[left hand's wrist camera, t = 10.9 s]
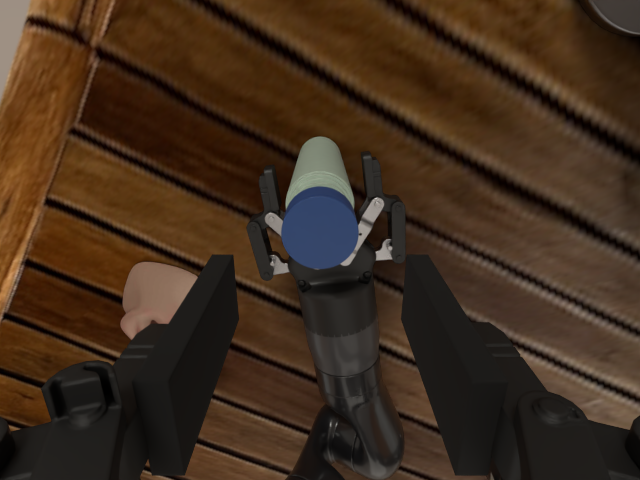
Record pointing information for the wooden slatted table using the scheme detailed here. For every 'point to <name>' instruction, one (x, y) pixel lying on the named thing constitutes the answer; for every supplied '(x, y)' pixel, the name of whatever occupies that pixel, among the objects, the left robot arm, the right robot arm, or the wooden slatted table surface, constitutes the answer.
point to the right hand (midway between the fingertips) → (316, 159)
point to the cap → (319, 228)
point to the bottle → (319, 169)
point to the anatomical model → (153, 295)
